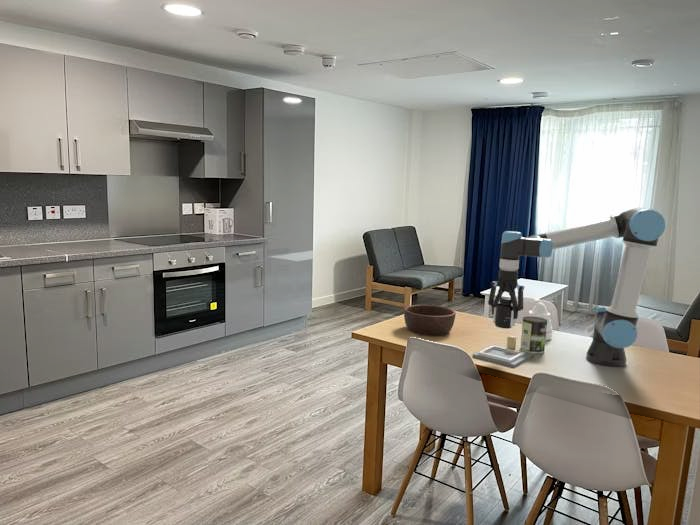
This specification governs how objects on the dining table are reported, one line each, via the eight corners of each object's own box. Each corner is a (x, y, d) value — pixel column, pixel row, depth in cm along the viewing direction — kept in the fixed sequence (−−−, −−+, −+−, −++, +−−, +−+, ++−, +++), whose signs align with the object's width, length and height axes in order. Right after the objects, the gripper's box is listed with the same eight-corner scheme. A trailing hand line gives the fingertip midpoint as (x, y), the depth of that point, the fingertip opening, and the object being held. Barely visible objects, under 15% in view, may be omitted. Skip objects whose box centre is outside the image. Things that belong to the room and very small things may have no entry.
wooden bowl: (392, 328, 260) (393, 308, 259) (425, 321, 277) (426, 302, 275) (432, 340, 242) (433, 319, 240) (464, 332, 259) (466, 312, 257)
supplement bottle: (508, 329, 214) (511, 300, 212) (492, 326, 218) (494, 298, 217) (514, 326, 220) (517, 298, 218) (498, 323, 224) (501, 295, 222)
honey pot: (525, 338, 252) (529, 301, 249) (522, 331, 264) (525, 296, 262) (554, 341, 250) (557, 303, 247) (549, 334, 262) (552, 298, 260)
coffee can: (547, 350, 235) (550, 319, 233) (540, 355, 226) (543, 323, 225) (524, 345, 241) (527, 315, 239) (516, 350, 233) (519, 318, 231)
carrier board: (533, 356, 224) (534, 340, 223) (514, 367, 209) (515, 350, 208) (493, 347, 236) (494, 331, 235) (472, 356, 220) (473, 340, 219)
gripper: (536, 271, 212) (530, 327, 215) (490, 265, 225) (485, 318, 228) (528, 273, 206) (523, 330, 210) (482, 267, 219) (477, 321, 222)
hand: (503, 324), depth 219 cm, fingers closed on supplement bottle, 7 cm apart
